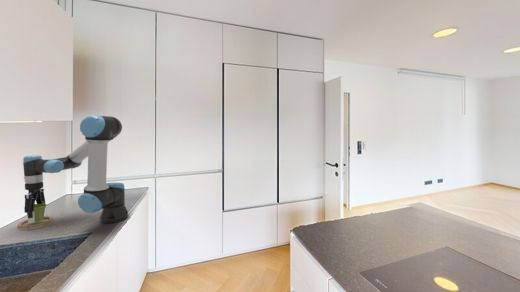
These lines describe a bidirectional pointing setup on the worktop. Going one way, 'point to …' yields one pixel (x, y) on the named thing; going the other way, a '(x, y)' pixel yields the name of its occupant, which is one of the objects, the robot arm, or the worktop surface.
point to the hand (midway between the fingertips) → (36, 219)
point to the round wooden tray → (38, 224)
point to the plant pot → (39, 211)
